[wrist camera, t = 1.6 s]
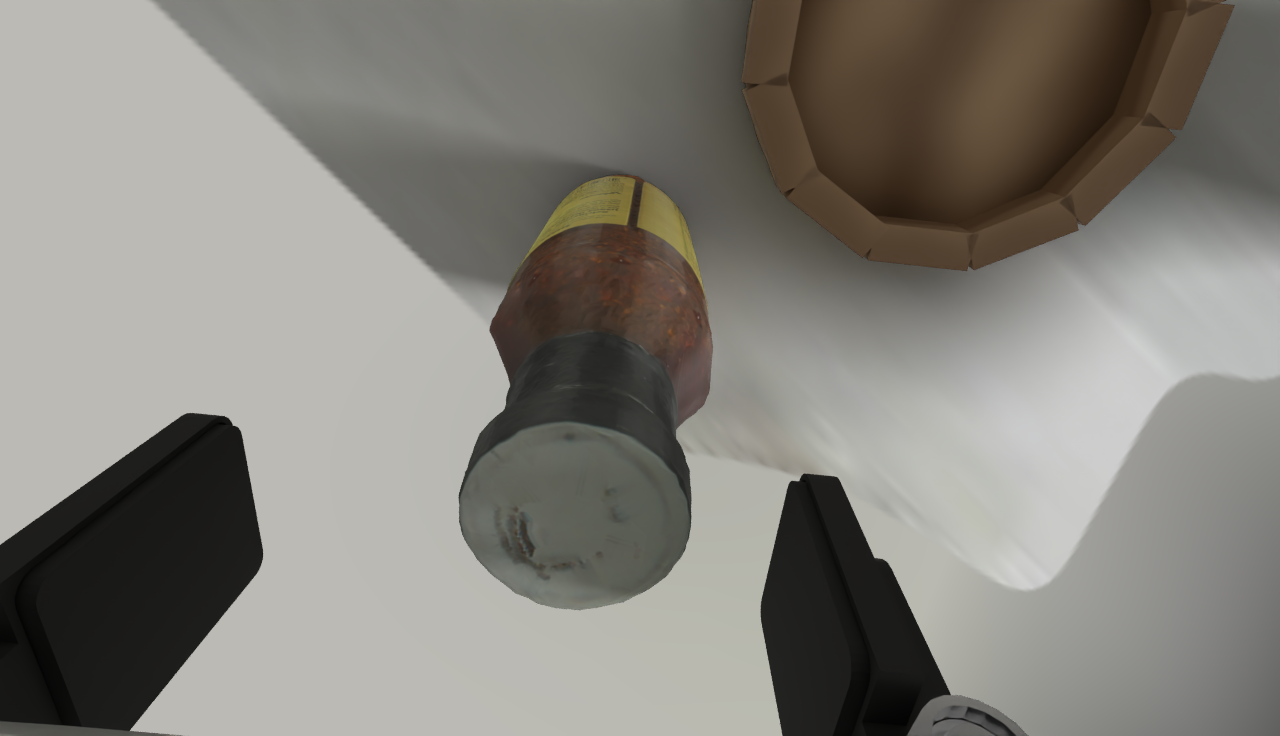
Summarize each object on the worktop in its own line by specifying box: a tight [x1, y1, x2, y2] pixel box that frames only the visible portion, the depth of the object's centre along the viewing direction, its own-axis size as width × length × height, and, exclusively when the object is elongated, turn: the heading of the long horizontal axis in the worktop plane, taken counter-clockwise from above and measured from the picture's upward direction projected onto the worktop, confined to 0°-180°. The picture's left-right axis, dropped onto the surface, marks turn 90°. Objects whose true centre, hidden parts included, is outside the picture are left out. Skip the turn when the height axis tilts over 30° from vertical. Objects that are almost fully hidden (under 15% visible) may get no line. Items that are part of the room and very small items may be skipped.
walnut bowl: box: [741, 0, 1235, 271], centre depth 24 cm, size 16×16×3 cm
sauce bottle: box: [459, 175, 713, 610], centre depth 20 cm, size 6×6×20 cm
